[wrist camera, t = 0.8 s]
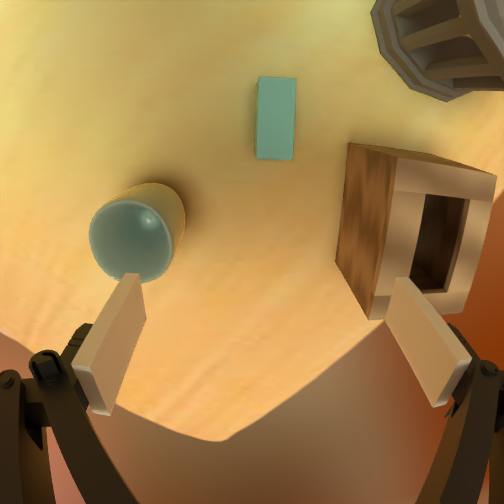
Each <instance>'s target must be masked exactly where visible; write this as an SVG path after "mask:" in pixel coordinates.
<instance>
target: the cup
mask: <svg viewBox="0 0 504 504" xmlns="http://www.w3.org/2000/svg"><path fill="white" fill-rule="evenodd" d="M185 221H186V218H185V210H184V206H183V203H182V201H181V199H180V197H179V196H178V194H177V193H176V192H175V191H174V190H173V189H172V188H170V187H168V186H166V185H164V184H160V183H144V184H140V185H136V186H133V187H131V188H129V189H127V190H125V191H123V192H122V193H120V194H118V195H117V196H115V197H114V198H112V199H111V200H109V201H108V202H107V203H106V204H104V205H103V206H102V207H101V208H100V209H99V210H98V211H97V212H96V214H95V215H94V217H93V218H92V221H91V224H90V230H89V240H90V245H91V250H92V252H93V255H94V257H95V259H96V261H97V263H98V264H99V266H100V267H101V268H102V269H103V271H104V272H105V273H107V274H108V275H109V276H110V277H112V278H114V279H116V280H118V281H120V280H121V279H122V277H123V276H124V274H125V273H139V274H140V281H141V283H146V282H150V281H152V280H155V279H157V278H158V277H160V276H161V275H163V274H164V273H165V271H166V270H167V269H168V268H169V267H170V265H171V263H172V261H173V259H174V257H175V255H176V253H177V251H178V248H179V246H180V244H181V241H182V238H183V234H184V230H185Z"/></svg>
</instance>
